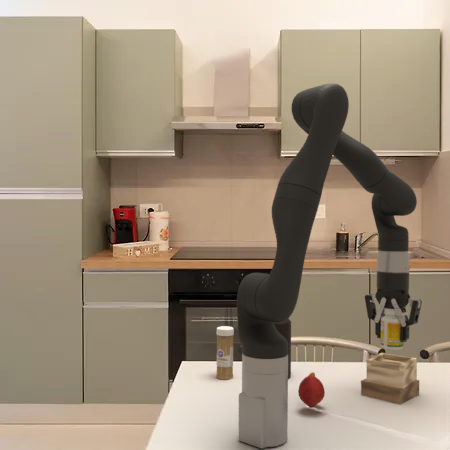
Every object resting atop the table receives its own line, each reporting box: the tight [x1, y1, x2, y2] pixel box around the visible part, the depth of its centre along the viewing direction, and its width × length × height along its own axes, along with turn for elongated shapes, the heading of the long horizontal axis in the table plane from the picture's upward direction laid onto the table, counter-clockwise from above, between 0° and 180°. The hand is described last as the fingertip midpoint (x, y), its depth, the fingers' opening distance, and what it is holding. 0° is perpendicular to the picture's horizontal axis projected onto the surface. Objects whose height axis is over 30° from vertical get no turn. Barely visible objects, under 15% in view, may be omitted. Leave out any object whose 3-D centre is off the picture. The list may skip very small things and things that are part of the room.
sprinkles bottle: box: [215, 325, 235, 381], centre depth 155 cm, size 5×5×13 cm
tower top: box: [366, 352, 418, 389], centre depth 141 cm, size 9×9×5 cm
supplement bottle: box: [379, 308, 405, 351], centre depth 141 cm, size 5×5×10 cm
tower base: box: [360, 378, 420, 405], centre depth 141 cm, size 10×10×4 cm
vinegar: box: [273, 317, 292, 380], centre depth 155 cm, size 7×7×20 cm
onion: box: [298, 371, 326, 409], centre depth 132 cm, size 6×6×8 cm
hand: (392, 339), depth 141 cm, fingers closed on supplement bottle, 5 cm apart
